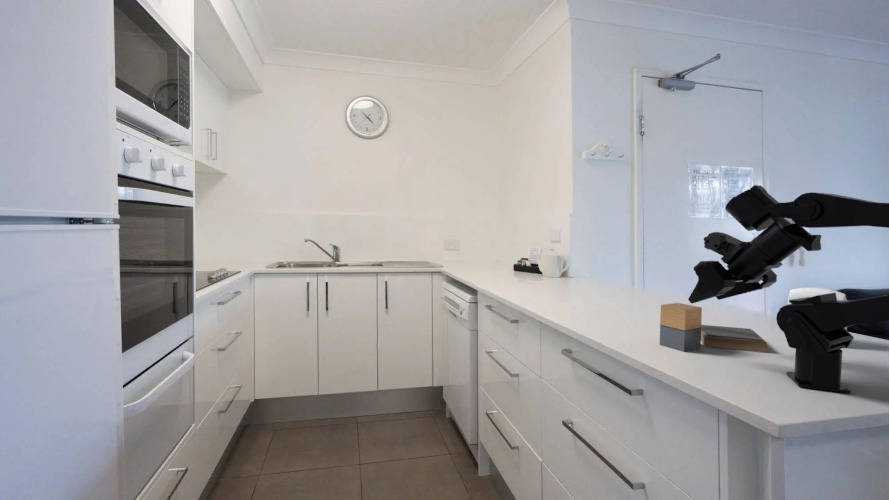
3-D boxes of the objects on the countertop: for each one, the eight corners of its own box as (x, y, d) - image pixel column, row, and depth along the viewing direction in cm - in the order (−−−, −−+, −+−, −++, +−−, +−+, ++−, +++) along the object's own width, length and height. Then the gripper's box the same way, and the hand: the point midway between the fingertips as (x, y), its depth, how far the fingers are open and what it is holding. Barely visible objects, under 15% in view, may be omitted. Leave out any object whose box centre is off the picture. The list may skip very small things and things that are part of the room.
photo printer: (783, 338, 96) (786, 286, 95) (788, 335, 99) (790, 284, 98) (844, 348, 88) (847, 291, 87) (847, 345, 91) (850, 289, 90)
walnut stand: (766, 352, 85) (766, 340, 85) (704, 346, 90) (705, 334, 90) (752, 339, 95) (752, 328, 95) (697, 334, 100) (697, 323, 100)
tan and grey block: (700, 348, 88) (701, 307, 88) (684, 352, 86) (685, 309, 85) (675, 341, 93) (677, 302, 93) (659, 345, 91) (660, 305, 90)
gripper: (761, 218, 83) (704, 267, 94) (706, 217, 75) (650, 271, 85) (807, 260, 77) (740, 307, 87) (752, 264, 68) (685, 316, 79)
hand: (703, 299), depth 85 cm, fingers open, 9 cm apart
